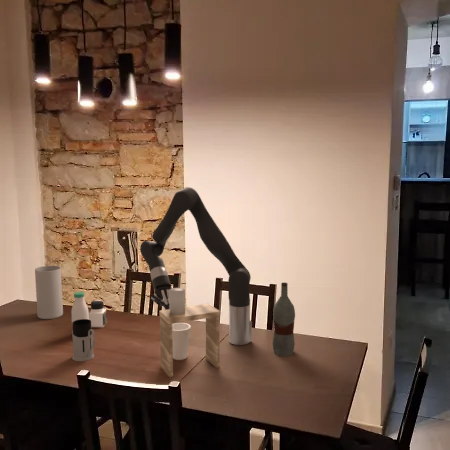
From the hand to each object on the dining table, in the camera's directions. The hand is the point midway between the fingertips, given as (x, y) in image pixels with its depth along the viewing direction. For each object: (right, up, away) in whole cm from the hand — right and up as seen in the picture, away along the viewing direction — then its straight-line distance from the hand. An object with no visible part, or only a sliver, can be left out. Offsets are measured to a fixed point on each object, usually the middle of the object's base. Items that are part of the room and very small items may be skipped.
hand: (169, 313), depth 218 cm
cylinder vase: (-67, -9, +45) cm, 81 cm away
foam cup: (+5, -17, -7) cm, 19 cm away
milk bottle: (-43, -13, +18) cm, 49 cm away
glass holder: (-33, -17, -9) cm, 38 cm away
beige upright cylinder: (+5, +4, -23) cm, 24 cm away
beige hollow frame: (+10, -18, -18) cm, 27 cm away
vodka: (+48, -16, -3) cm, 51 cm away
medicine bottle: (-39, -11, +31) cm, 51 cm away
